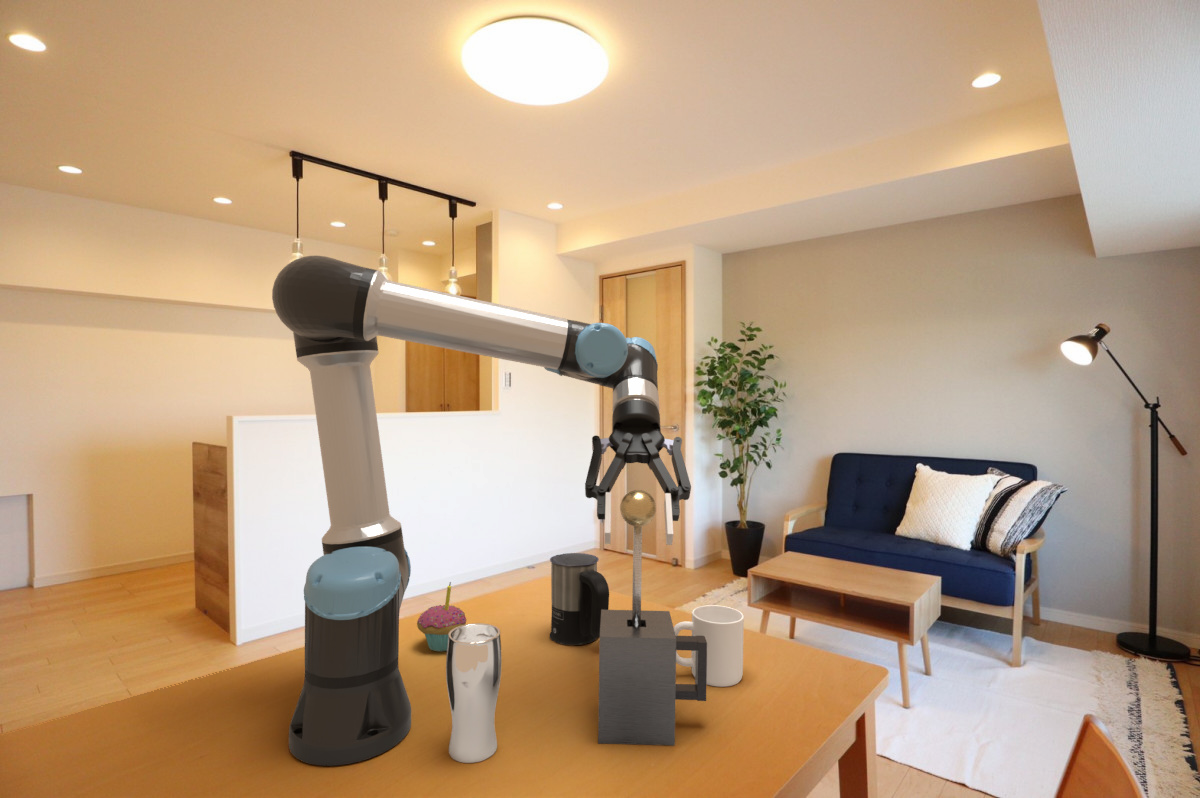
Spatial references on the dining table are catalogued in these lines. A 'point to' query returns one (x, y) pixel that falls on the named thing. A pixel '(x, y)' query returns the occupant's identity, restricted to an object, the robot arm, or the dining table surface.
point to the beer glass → (473, 690)
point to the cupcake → (440, 623)
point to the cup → (717, 643)
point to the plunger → (637, 539)
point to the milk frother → (577, 598)
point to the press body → (643, 677)
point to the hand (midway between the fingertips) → (638, 538)
